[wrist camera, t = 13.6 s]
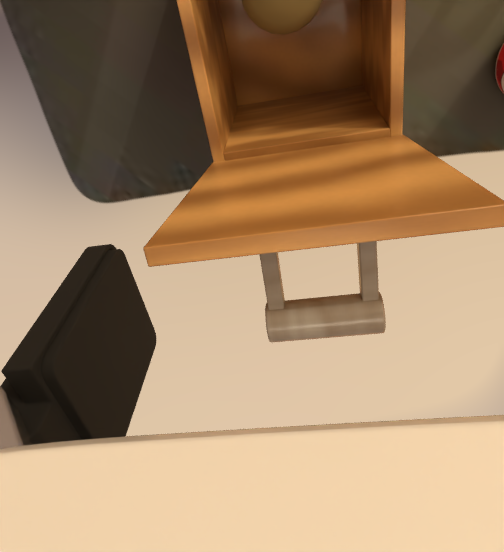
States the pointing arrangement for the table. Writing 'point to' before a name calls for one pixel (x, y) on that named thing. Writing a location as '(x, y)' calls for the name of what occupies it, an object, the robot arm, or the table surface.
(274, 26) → the olive tapered piece
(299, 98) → the wooden bin
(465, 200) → the bin lid
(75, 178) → the table surface
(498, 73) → the soda can
